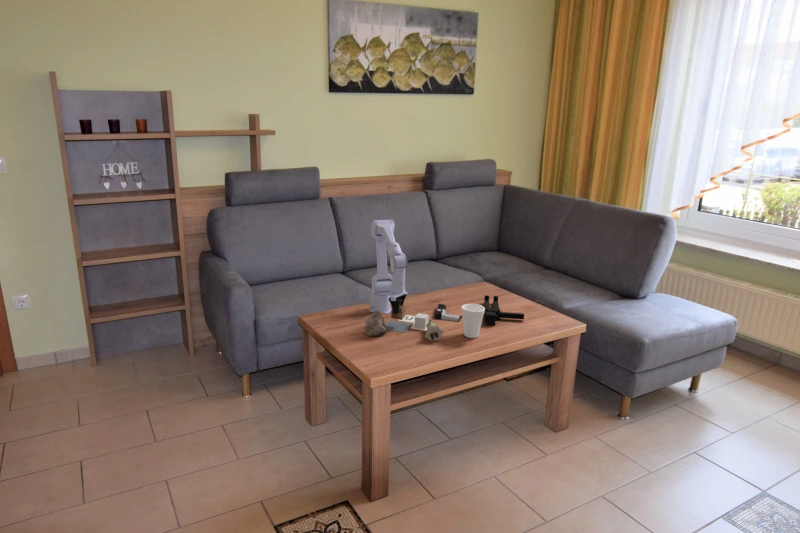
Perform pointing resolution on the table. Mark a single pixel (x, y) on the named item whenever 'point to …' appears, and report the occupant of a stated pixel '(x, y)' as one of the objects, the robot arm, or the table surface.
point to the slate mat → (398, 326)
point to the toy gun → (445, 314)
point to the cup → (472, 319)
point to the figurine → (433, 331)
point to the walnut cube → (399, 313)
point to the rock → (375, 324)
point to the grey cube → (421, 321)
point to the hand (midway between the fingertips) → (397, 311)
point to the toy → (497, 312)
